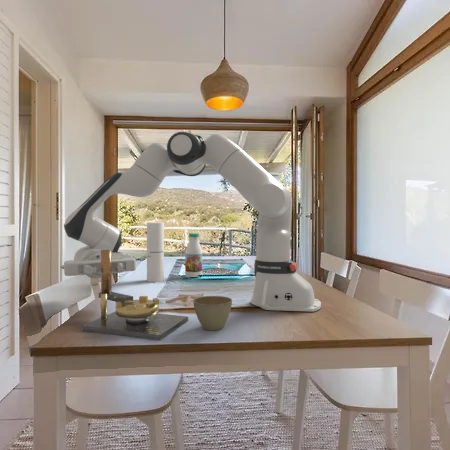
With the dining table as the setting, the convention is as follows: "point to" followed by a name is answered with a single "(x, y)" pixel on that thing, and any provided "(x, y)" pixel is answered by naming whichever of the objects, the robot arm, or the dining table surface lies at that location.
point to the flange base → (135, 324)
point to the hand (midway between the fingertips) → (107, 269)
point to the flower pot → (212, 311)
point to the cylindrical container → (155, 252)
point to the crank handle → (124, 302)
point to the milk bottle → (193, 256)
